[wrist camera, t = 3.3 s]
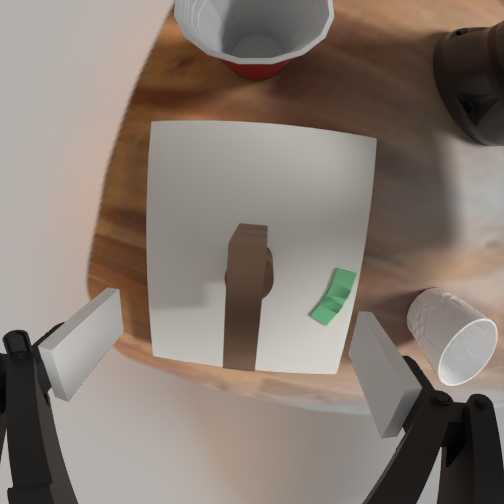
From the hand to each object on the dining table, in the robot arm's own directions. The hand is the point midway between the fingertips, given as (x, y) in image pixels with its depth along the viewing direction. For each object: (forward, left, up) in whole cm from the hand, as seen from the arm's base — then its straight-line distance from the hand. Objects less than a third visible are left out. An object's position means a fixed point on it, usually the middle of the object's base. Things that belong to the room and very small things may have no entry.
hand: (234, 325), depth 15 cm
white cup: (+6, +22, -16) cm, 28 cm away
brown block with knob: (0, 0, -12) cm, 12 cm away
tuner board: (0, 0, -16) cm, 16 cm away
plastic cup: (-20, -1, -16) cm, 26 cm away
